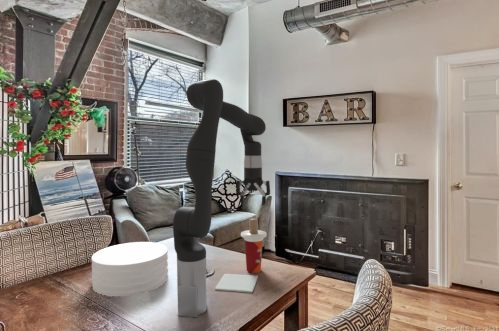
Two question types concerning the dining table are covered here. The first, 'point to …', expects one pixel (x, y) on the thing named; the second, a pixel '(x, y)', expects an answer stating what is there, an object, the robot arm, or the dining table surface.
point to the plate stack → (129, 268)
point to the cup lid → (253, 231)
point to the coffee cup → (253, 254)
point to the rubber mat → (237, 283)
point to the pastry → (209, 270)
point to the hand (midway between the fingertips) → (253, 204)
